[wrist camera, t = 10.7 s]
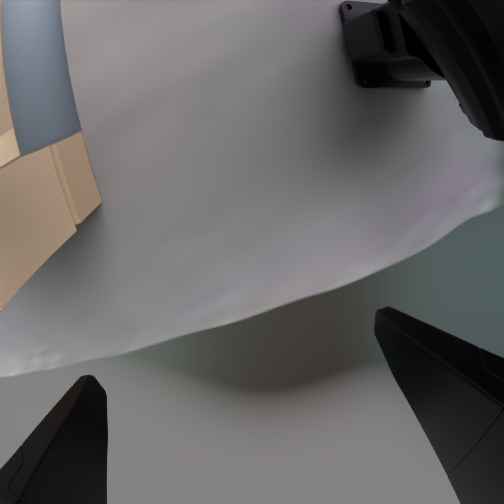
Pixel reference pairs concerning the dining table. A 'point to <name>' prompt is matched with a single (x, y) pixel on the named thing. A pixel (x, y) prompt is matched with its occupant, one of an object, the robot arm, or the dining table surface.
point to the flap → (32, 138)
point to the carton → (75, 176)
